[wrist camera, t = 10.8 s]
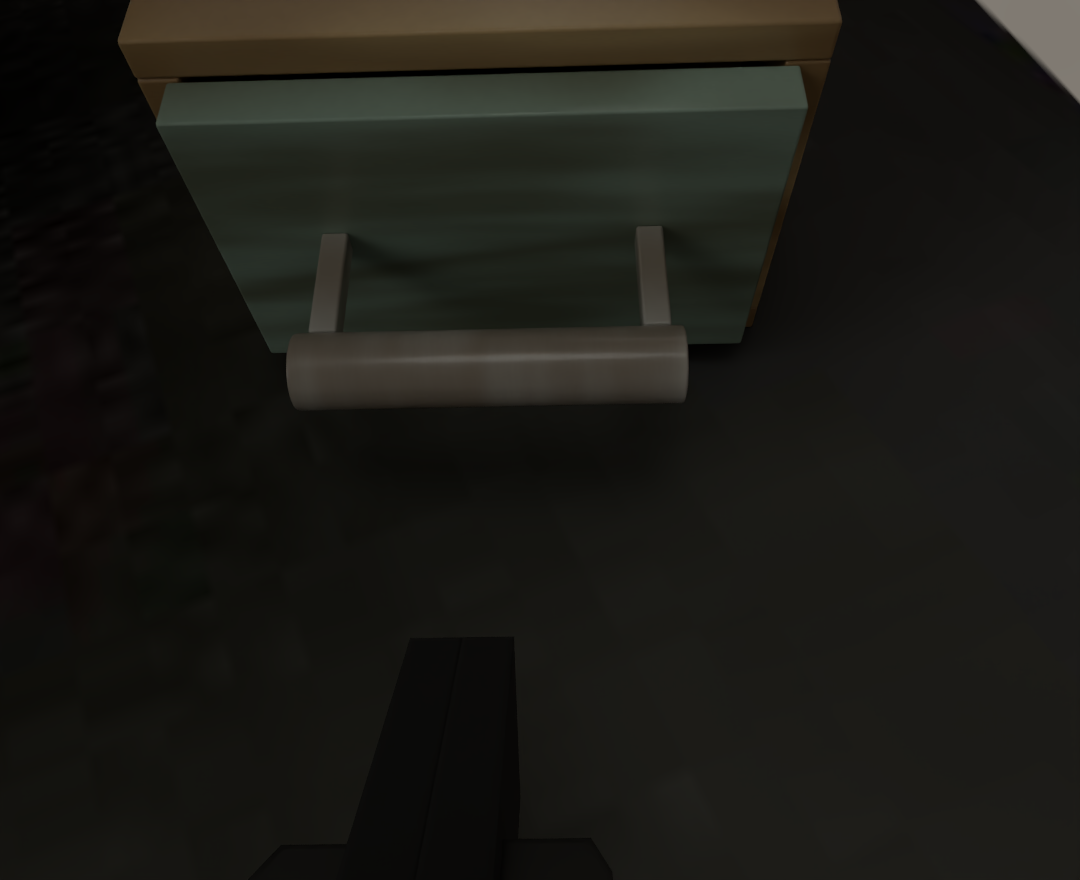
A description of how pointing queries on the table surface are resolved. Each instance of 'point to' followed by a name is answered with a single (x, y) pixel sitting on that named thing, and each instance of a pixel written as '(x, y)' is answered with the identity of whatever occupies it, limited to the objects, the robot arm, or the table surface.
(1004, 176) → the table surface
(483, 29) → the cabinet
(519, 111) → the drawer
